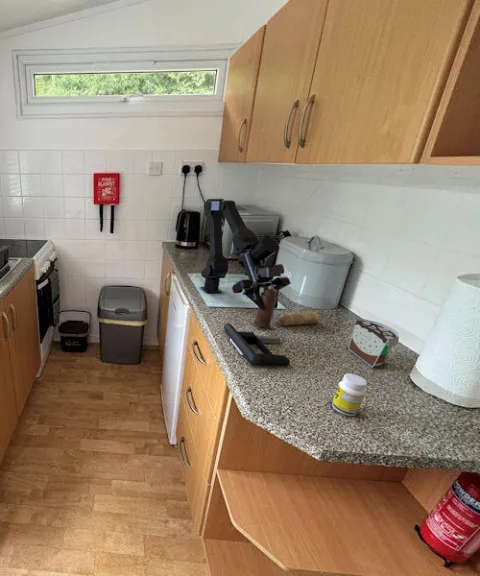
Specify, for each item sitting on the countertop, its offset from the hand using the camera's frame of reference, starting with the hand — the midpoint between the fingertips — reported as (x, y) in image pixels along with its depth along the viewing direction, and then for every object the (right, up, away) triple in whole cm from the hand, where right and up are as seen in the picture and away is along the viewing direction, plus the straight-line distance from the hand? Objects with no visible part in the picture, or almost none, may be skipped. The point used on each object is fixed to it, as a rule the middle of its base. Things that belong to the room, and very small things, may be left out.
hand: (269, 308), depth 104 cm
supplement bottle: (0, -21, -32) cm, 38 cm away
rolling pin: (+13, -6, +6) cm, 16 cm away
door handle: (-8, -12, -8) cm, 17 cm away
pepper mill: (0, -5, +4) cm, 7 cm away
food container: (+22, -14, -13) cm, 29 cm away
